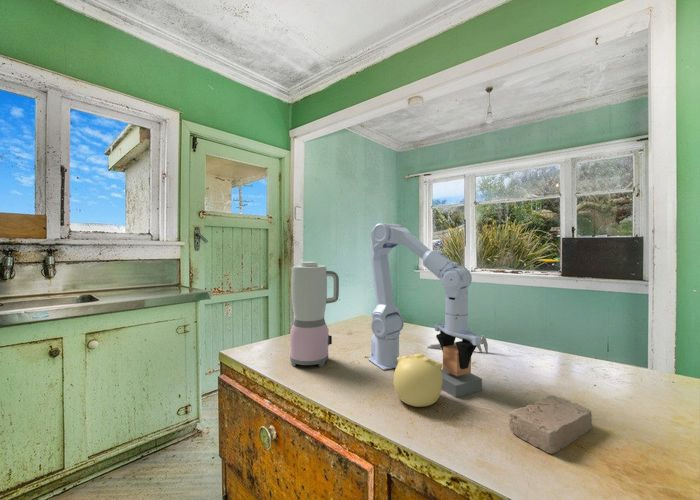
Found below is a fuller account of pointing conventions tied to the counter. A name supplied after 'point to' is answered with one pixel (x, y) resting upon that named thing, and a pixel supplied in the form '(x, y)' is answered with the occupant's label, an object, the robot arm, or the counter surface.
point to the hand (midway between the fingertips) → (456, 364)
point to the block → (453, 361)
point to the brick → (550, 423)
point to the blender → (310, 313)
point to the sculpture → (418, 380)
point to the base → (460, 383)
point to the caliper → (437, 346)
